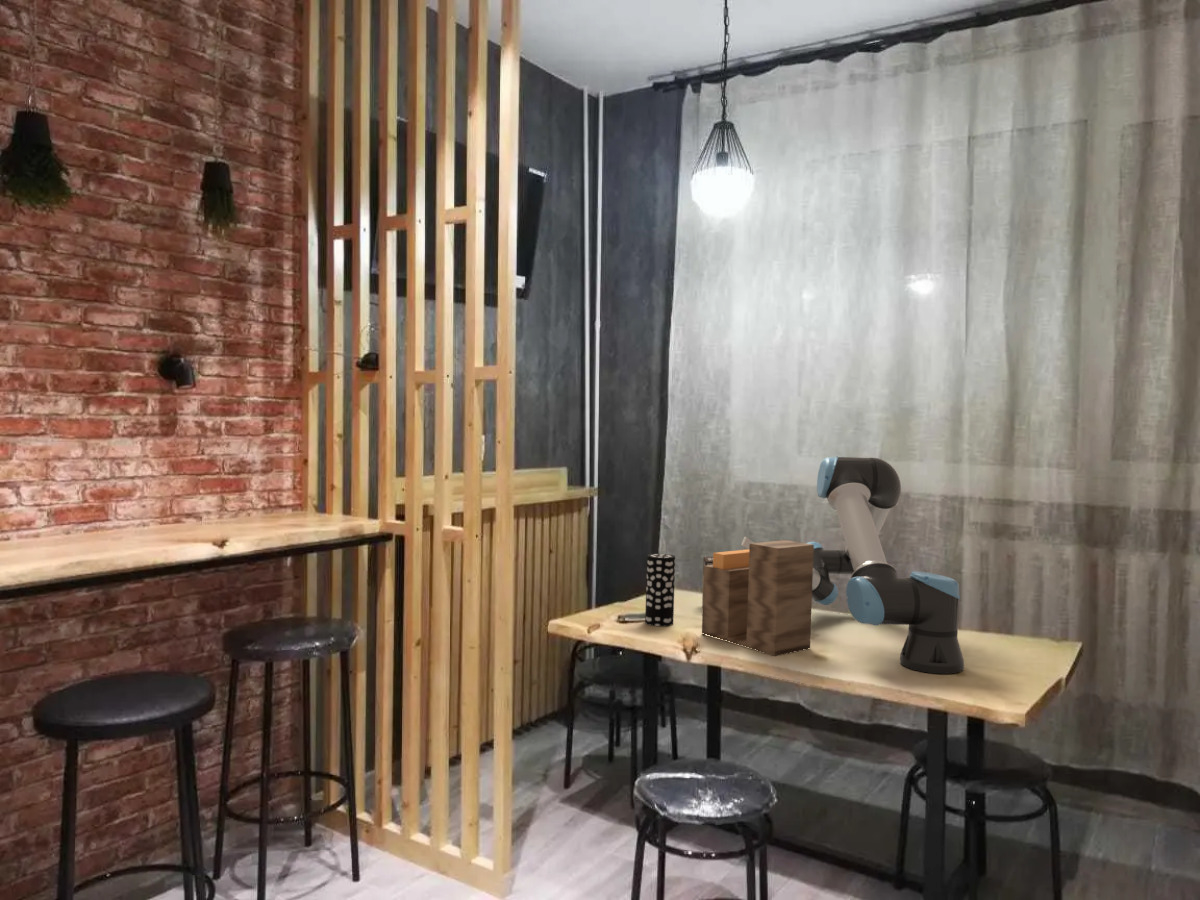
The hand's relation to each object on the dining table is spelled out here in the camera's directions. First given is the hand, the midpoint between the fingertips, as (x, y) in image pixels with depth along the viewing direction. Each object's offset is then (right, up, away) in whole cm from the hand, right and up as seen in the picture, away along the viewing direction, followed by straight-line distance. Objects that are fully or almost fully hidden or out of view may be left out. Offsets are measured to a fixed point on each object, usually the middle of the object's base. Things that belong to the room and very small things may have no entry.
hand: (760, 543), depth 265 cm
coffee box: (-10, -24, +29) cm, 39 cm away
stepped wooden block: (-4, -26, -12) cm, 29 cm away
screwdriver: (-4, -6, -3) cm, 7 cm away
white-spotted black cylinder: (-29, -24, +7) cm, 38 cm away
